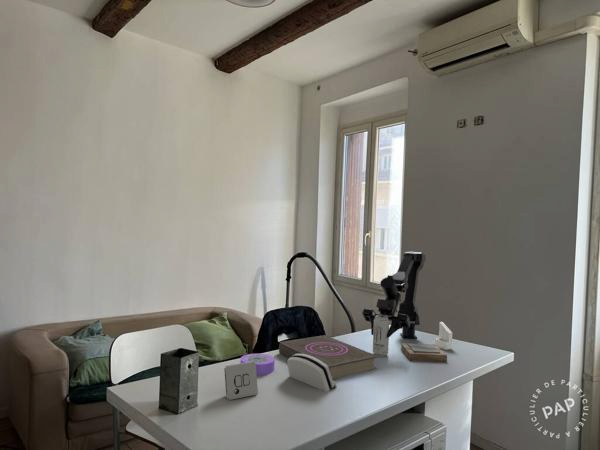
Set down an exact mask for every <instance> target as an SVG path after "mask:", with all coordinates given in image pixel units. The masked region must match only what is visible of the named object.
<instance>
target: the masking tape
mask: <svg viewBox="0 0 600 450" xmlns="http://www.w3.org/2000/svg"><path fill="white" fill-rule="evenodd" d="M275 361H276V360H275V357H273V356H272V355H270V354H265V353H249V354H244V355H242V356H241V357H240V361H239V362H240V363H247V362H255V364H256V375H257V376H265V375H269V374H271V373H273V372H274V371H275V364H276V363H275ZM240 363H239V364H240Z"/></svg>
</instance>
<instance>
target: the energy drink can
mask: <svg viewBox="0 0 600 450" xmlns="http://www.w3.org/2000/svg"><path fill="white" fill-rule="evenodd" d="M389 328H390V321H389V319H388V316H385V315H376V316H375V319H374V327H373V335H372V336H373V337H372V354H374V355H376V356H378V357H387V356H388V354H389V341H390V337H389V338H387V333H388V331H389Z"/></svg>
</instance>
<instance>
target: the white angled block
mask: <svg viewBox="0 0 600 450" xmlns="http://www.w3.org/2000/svg"><path fill="white" fill-rule="evenodd" d="M438 331H439V332H438V338H437V337H436V338H435V343H434V344H436V345H437V346H438V347H439V348H440V349H441V350H443V351H444V350H445V351H446V350H452V349H453V348H452V347H453V332H452V331H451V329H450V328H449V327H448V326H447V325H446V324H445V323H444V322H443V321H439V324H438Z"/></svg>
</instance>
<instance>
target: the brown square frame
mask: <svg viewBox="0 0 600 450" xmlns="http://www.w3.org/2000/svg"><path fill="white" fill-rule="evenodd" d="M400 350H401V351H402V352H403V353H404V355H405V356H406V358H407V359H408V360H409V361H412V360H417V362H440V363H441V362H442V363H443V362H445V363H447V362H448V354H446V352H444V350H443V349H442V348H439V347H438V346H437V345H436V344H435V343H434V344H433V343H431V344H430V343H405V342H403V343H402V342H401V343H400Z"/></svg>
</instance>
